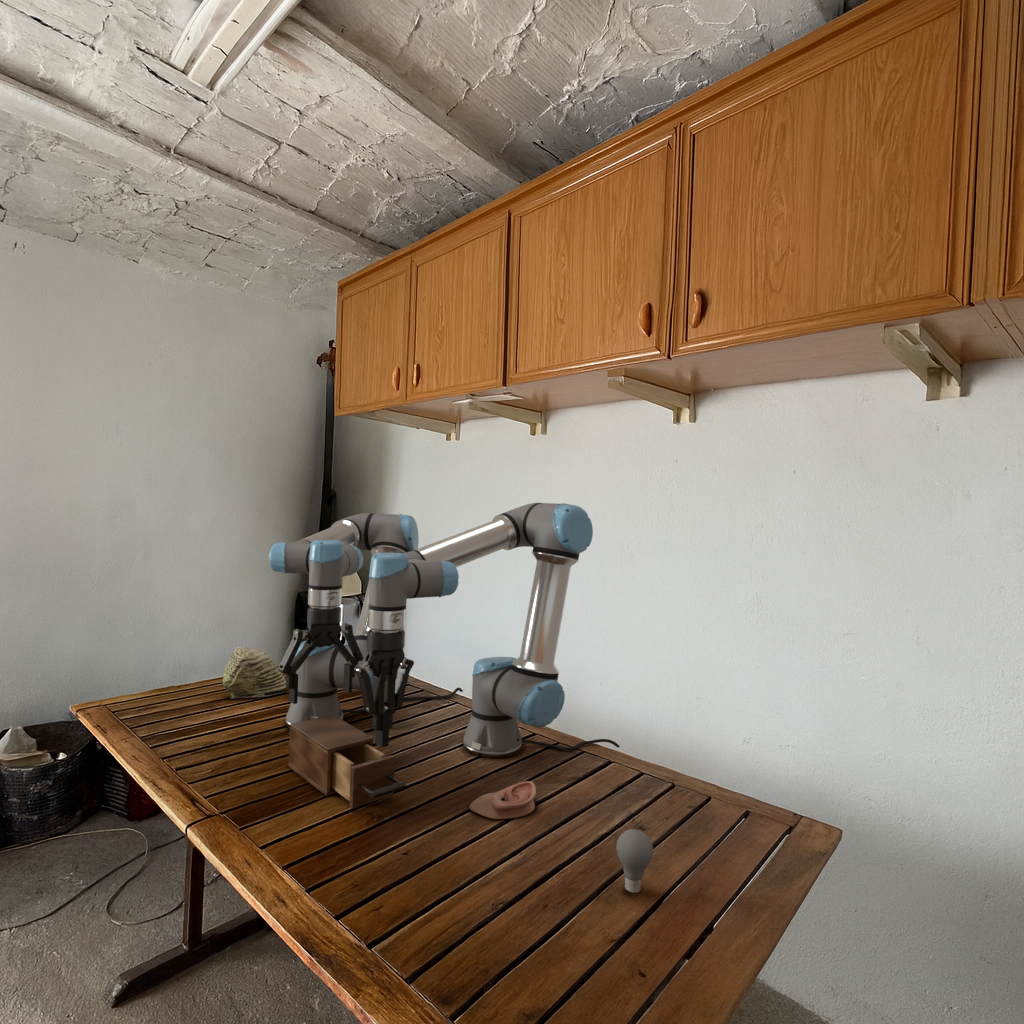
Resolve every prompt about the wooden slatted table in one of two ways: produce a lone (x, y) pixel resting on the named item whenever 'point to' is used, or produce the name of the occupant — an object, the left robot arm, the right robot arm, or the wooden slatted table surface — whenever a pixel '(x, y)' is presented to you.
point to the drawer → (363, 774)
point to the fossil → (252, 674)
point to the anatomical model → (506, 802)
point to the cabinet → (321, 748)
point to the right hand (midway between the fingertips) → (381, 744)
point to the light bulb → (634, 857)
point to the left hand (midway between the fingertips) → (321, 696)
